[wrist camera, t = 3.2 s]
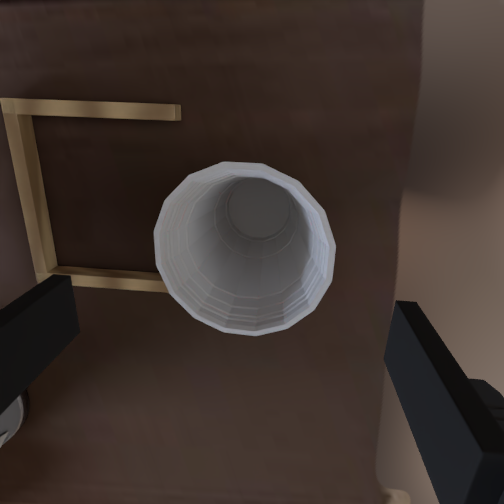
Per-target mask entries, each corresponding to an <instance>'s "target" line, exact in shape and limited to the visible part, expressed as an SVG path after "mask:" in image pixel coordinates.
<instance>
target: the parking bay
mask: <svg viewBox="0 0 504 504" xmlns="http://www.w3.org/2000/svg"><path fill="white" fill-rule="evenodd" d="M0 102H1V107H2V112H3V117H4V122H5V127H6V132H7V137H8V142H9V147H10V151H11V156H12V161H13V166H14V171H15V176H16V181H17V186H18V191H19V196H20V201H21V206H22V210H23V215H24V220H25V225H26V230H27V235H28V240H29V245H30V250H31V255H32V260H33V265H34V269H35V274H36V279H37V283H41V282H42V281H44V280H45V279H47V278H48V277H50V276H51V275H53V274H58V275H71V280H72V286H85V287H98V288H112V289H125V290H139V291H152V292H166V293H169V291H168V289H167V287H166V285H165V283H164V281H163V279H162V276H161V274H160V273H154V272H140V271H126V270H112V269H98V268H83V267H69V266H58V264H57V258H56V253H55V247H54V241H53V236H52V230H51V224H50V219H49V213H48V207H47V202H46V196H45V190H44V185H43V179H42V173H41V168H40V162H39V156H38V151H37V145H36V139H35V134H34V128H33V122H32V117H31V115H43V116H67V117H92V118H117V119H141V120H166V121H180V120H181V105H177V104H154V103H128V102H101V101H74V100H47V99H20V98H0Z"/></svg>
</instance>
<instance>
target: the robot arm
mask: <svg viewBox="0 0 504 504" xmlns="http://www.w3.org/2000/svg"><path fill="white" fill-rule="evenodd" d="M79 333H80V328H79V322H78V316H77V310H76V304H75V298H74V292H73V286H72V280H71V275H58V274H53V275H51V276H50V277H48V278H47V279H45V280H44V281H42V282H41V283H39V284H38V285H36V286H35V287H33V288H32V289H31V290H29V291H28V292H26V293H25V294H23V295H22V296H20V297H19V298H17V299H16V300H14V301H13V302H12V303H10V304H9V305H7V306H6V307H4V308H3V309H1V310H0V448H1V446H2V445H3V444H4V443H5V442H7V441H8V440H9V439H10V438H11V437H12V436H13V435H14V434H15V433H16V432H17V431H18V430H19V428H20V427H21V426H22V425H23V423H24V422H25V420H26V419H27V416H28V412H29V398H28V394H27V390H26V388H27V387H28V386H29V385H30V384H31V383H32V382H33V381H34V380H35V379H36V378H37V377H38V376H39V374H40V373H41V372H42V371H43V370H44V369H45V368H46V367H47V366H48V365H49V364H50V363H51V362H52V361H53V360H54V359H55V358H56V357H57V356H58V355H59V354H60V352H61V351H62V350H63V349H64V348H65V347H66V346H67V345H68V344H69V343H70V342H71V341H72V340H73V339H74V338H75V337H76V336H77V335H78V334H79ZM384 361H385V364H386V366H387V369H388V372H389V374H390V377H391V379H392V382H393V384H394V387H395V389H396V392H397V395H398V397H399V400H400V403H401V405H402V408H403V410H404V413H405V415H406V418H407V421H408V423H409V426H410V428H411V431H412V434H413V436H414V439H415V441H416V444H417V447H418V449H419V452H420V454H421V456H422V460H423V462H424V465H425V467H426V470H427V472H428V475H429V477H430V480H431V483H432V485H433V488H434V491H435V493H436V496H437V498H438V500H439V503H440V504H504V397H503V396H502V395H501V394H500V392H498V391H497V390H496V389H495V388H493V387H492V386H491V385H490V384H488V383H487V382H486V381H484V380H478V379H468V378H467V376H466V375H465V373H464V372H463V370H462V369H461V367H460V366H459V364H458V363H457V362H456V360H455V358H454V357H453V356H452V354H451V353H450V351H449V350H448V348H447V347H446V345H445V344H444V342H443V341H442V339H441V338H440V336H439V335H438V333H437V332H436V330H435V329H434V327H433V326H432V325H431V323H430V322H429V320H428V319H427V317H426V316H425V314H424V313H423V311H422V310H421V308H420V307H419V306H418V304H417V302H410V301H397V300H396V302H395V307H394V312H393V316H392V321H391V326H390V331H389V336H388V340H387V345H386V350H385V355H384Z"/></svg>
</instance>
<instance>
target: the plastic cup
mask: <svg viewBox="0 0 504 504" xmlns="http://www.w3.org/2000/svg"><path fill="white" fill-rule="evenodd" d="M154 245H155V259H156V266H157V268H158V270H159V272H160V274H161V276H162V279H163V281H164V283H165V285H166V287H167V289H168V291H169V293H170V295H171V296H172V297H173V298H174V299H175V300H176V301H177V302H178V303H179V304H180V305H181V306H182V307H183V308H184V309H185V310H186V311H187V312H188V313H189V314H190V315H191V316H192V317H193V318H195V319H197V320H199V321H201V322H203V323H205V324H207V325H210V326H212V327H214V328H216V329H218V330H220V331H222V332H226V333H234V334H243V335H251V336H259V335H263V334H267V333H271V332H276V331H280V330H284V329H288V328H289V327H291V326H292V325H294V324H295V323H297V322H298V321H299V320H301V319H302V318H304V317H305V316H307V315H308V314H309V313H311V312H312V311H314V310H315V308H316V307H317V305H318V303H319V302H320V300H321V298H322V297H323V295H324V294H325V292H326V290H327V289H328V287H329V285H330V284H331V282H332V277H333V268H334V260H335V251H336V245H335V241H334V238H333V235H332V232H331V229H330V226H329V223H328V219H327V216H326V213H325V210H324V209H323V208H322V207H321V206H320V205H319V204H318V202H317V201H316V200H315V199H314V198H313V197H312V196H311V195H310V193H309V192H308V191H307V190H306V189H305V188H304V187H303V185H302V184H301V183H300V182H299V181H298V180H296V179H293V178H291V177H289V176H287V175H285V174H283V173H281V172H279V171H277V170H275V169H273V168H271V167H269V166H267V165H265V164H262V163H241V162H221V163H219V164H216V165H213V166H211V167H208V168H206V169H203V170H201V171H198V172H195V173H193V174H190V175H188V176H187V177H186V179H185V180H184V181H183V182H182V183H181V184H180V185H179V186H178V187H177V188H176V189H175V190H174V191H173V192H172V193H171V194H170V195H169V196H168V197H167V198H166V199H165V200H164V203H163V206H162V209H161V212H160V215H159V218H158V220H157V223H156V226H155V229H154Z"/></svg>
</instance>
